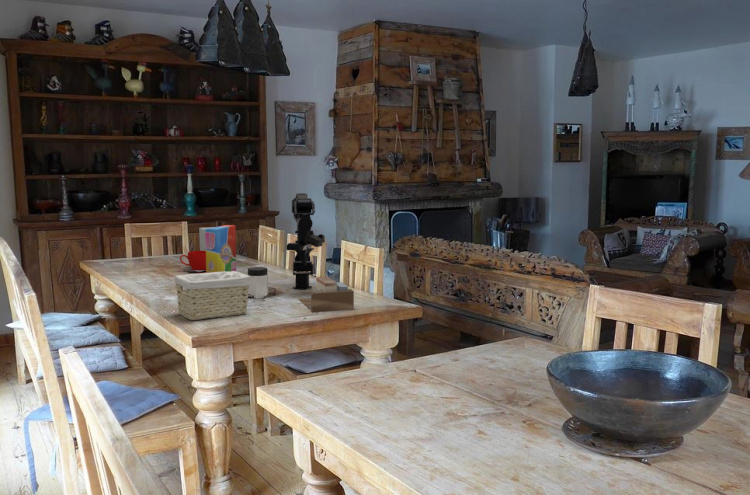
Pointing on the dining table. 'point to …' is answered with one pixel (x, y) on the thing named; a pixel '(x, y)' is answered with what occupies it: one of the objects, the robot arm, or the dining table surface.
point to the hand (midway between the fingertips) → (304, 265)
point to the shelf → (330, 301)
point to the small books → (342, 287)
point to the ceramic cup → (196, 260)
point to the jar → (258, 282)
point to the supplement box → (203, 238)
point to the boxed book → (326, 284)
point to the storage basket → (212, 294)
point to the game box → (221, 249)
